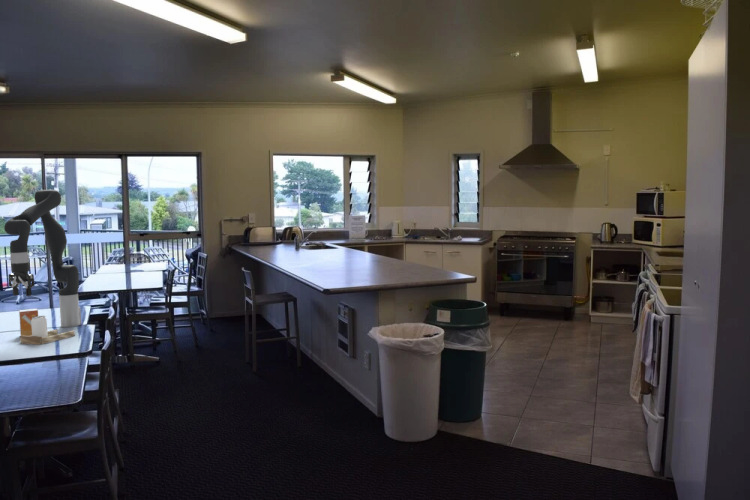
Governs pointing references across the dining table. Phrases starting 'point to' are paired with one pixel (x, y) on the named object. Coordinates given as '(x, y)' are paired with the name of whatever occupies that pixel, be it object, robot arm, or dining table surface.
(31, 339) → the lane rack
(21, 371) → the dining table surface
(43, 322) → the white carton
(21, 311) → the small box
